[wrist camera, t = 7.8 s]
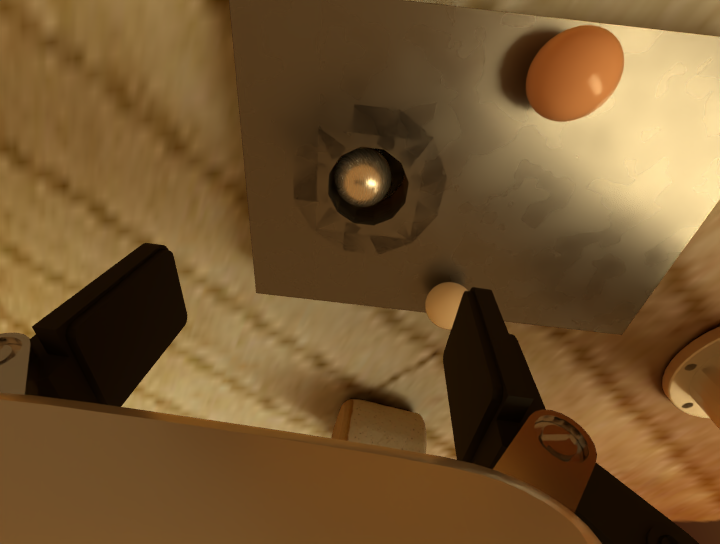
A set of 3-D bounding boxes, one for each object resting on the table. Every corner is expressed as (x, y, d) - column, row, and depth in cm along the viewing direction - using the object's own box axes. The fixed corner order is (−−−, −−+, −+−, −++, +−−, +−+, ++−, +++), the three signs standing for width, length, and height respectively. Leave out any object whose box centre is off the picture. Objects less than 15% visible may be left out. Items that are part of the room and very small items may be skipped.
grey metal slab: (754, 48, 18) (827, 49, 15) (596, 303, 27) (621, 334, 24) (253, -10, 18) (227, -21, 15) (270, 266, 27) (256, 292, 24)
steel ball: (407, 154, 20) (358, 160, 18) (398, 210, 22) (353, 220, 20) (370, 138, 22) (323, 143, 20) (365, 190, 24) (322, 199, 22)
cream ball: (474, 275, 22) (485, 305, 20) (462, 310, 24) (470, 341, 21) (428, 270, 22) (433, 299, 20) (419, 306, 24) (423, 336, 21)
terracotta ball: (611, 31, 15) (666, 28, 12) (575, 118, 17) (615, 133, 14) (531, 22, 15) (566, 17, 12) (504, 110, 17) (529, 124, 14)
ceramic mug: (347, 380, 34) (338, 458, 28) (424, 398, 35) (432, 478, 29) (325, 435, 40) (313, 509, 34) (391, 449, 41) (392, 524, 35)
